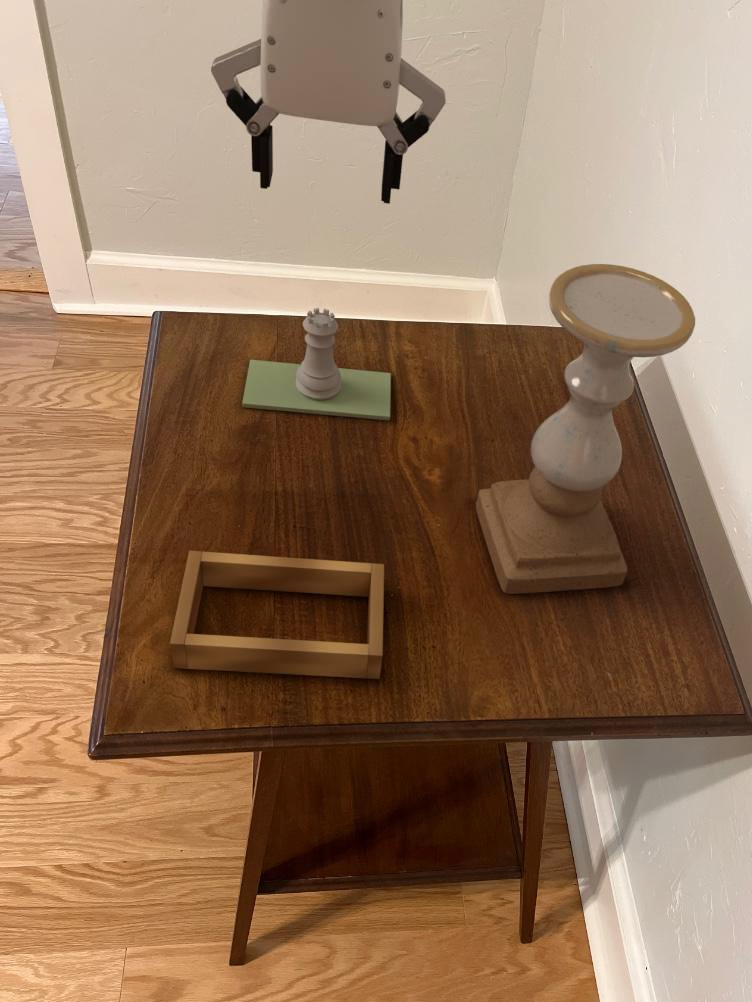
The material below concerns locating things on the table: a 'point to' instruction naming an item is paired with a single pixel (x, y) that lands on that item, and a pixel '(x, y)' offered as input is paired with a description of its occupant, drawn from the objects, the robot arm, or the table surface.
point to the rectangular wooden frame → (278, 652)
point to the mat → (355, 398)
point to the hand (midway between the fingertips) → (326, 188)
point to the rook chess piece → (319, 358)
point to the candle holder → (581, 435)
